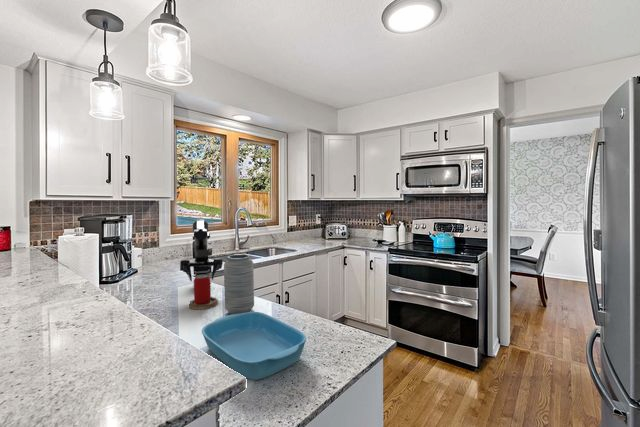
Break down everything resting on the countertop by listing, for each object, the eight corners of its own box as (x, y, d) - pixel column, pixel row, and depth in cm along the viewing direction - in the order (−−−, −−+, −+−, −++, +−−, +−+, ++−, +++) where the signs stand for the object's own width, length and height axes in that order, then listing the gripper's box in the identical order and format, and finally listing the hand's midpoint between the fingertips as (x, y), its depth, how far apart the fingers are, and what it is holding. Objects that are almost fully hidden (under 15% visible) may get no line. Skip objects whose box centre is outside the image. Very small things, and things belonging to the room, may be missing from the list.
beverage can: (211, 299, 139) (210, 273, 139) (209, 304, 133) (209, 277, 132) (195, 300, 138) (194, 274, 137) (193, 306, 131) (192, 278, 131)
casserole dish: (192, 345, 99) (191, 323, 99) (253, 324, 114) (252, 306, 114) (251, 400, 72) (251, 370, 72) (321, 364, 87) (320, 339, 87)
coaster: (203, 298, 143) (203, 295, 143) (223, 302, 138) (223, 298, 138) (182, 307, 132) (182, 303, 132) (203, 311, 127) (203, 307, 127)
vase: (219, 313, 125) (217, 257, 123) (239, 304, 135) (237, 252, 134) (241, 319, 119) (239, 260, 118) (260, 309, 129) (259, 254, 128)
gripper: (180, 242, 142) (180, 272, 133) (222, 242, 150) (224, 270, 141) (180, 256, 150) (179, 285, 141) (220, 254, 158) (222, 282, 148)
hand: (201, 280), depth 143 cm, fingers open, 9 cm apart
